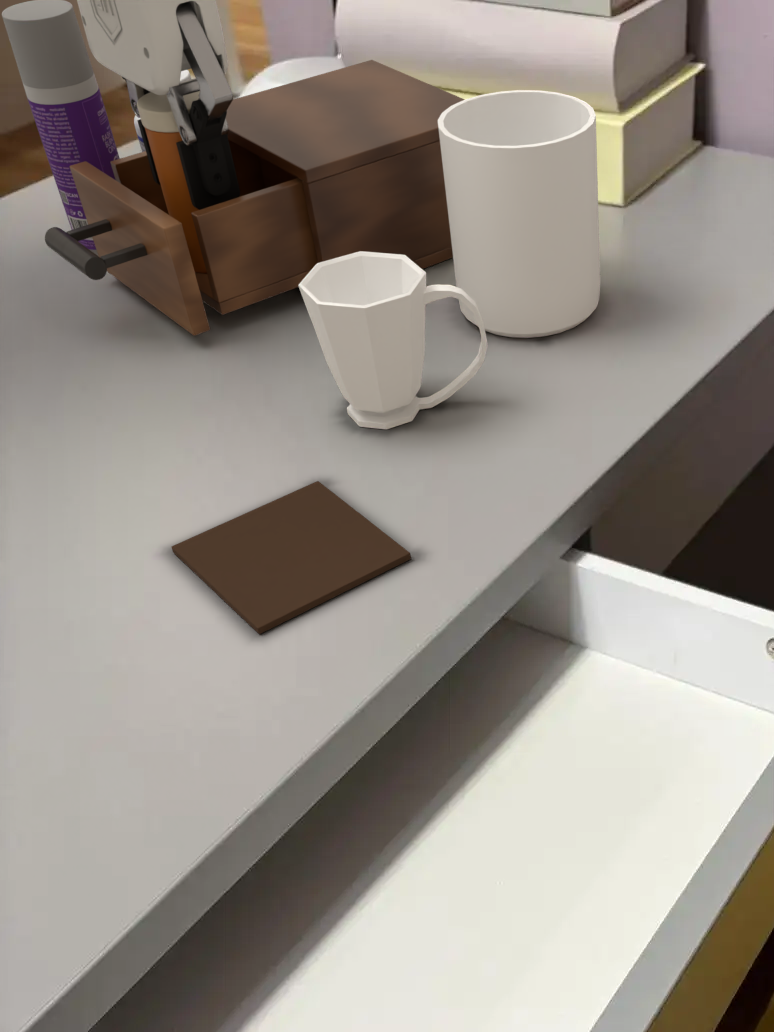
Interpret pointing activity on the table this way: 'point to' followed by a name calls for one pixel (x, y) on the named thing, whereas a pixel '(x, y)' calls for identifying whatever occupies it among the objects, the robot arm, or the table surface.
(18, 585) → the table surface
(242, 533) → the coaster
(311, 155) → the cabinet
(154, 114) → the spice jar
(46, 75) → the container
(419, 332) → the cup
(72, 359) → the table surface
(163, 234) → the drawer
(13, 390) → the table surface
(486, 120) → the mug
